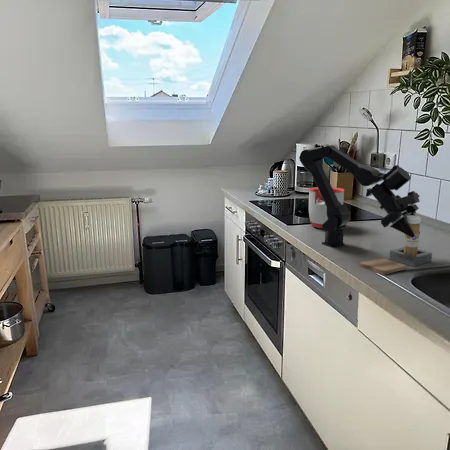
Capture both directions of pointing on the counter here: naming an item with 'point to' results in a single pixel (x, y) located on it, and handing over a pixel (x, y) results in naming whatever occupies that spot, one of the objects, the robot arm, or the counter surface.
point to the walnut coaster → (382, 266)
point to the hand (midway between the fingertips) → (416, 235)
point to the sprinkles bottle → (412, 242)
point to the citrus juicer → (321, 205)
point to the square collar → (410, 257)
